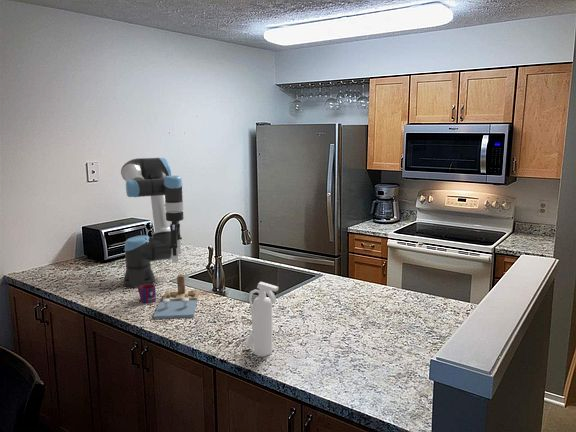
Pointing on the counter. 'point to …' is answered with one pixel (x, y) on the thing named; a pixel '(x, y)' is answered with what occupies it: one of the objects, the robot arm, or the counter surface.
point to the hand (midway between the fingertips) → (176, 258)
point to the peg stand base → (181, 291)
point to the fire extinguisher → (262, 319)
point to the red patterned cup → (147, 293)
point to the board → (175, 309)
